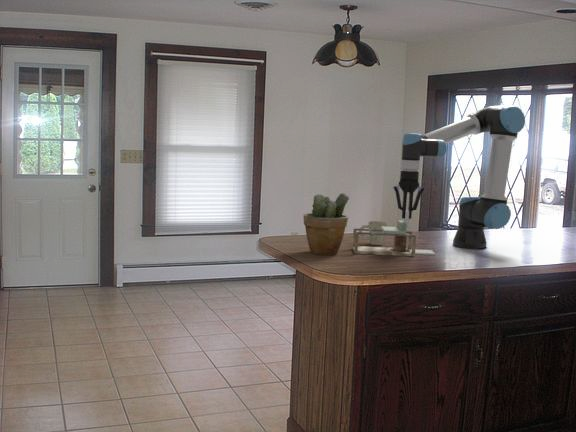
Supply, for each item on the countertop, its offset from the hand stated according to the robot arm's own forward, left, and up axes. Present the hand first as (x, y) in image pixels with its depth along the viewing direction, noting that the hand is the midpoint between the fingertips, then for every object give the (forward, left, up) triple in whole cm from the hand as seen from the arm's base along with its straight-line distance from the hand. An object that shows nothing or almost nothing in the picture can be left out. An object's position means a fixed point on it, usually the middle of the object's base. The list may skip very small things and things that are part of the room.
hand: (405, 226), depth 292 cm
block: (+2, 0, -12) cm, 12 cm away
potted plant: (+34, +8, -12) cm, 37 cm away
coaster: (-9, -4, -12) cm, 15 cm away
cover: (+5, 0, -2) cm, 6 cm away
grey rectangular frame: (+9, 0, -12) cm, 15 cm away
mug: (+11, -22, -12) cm, 27 cm away
